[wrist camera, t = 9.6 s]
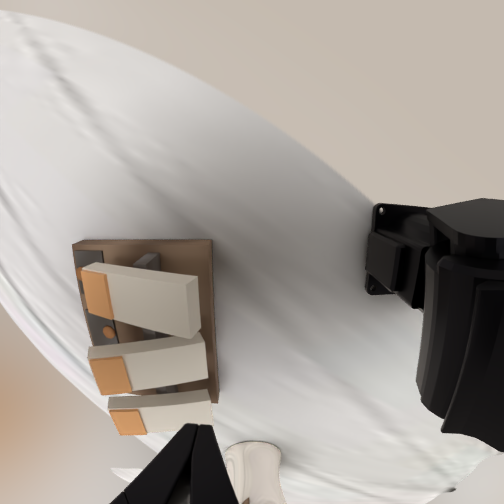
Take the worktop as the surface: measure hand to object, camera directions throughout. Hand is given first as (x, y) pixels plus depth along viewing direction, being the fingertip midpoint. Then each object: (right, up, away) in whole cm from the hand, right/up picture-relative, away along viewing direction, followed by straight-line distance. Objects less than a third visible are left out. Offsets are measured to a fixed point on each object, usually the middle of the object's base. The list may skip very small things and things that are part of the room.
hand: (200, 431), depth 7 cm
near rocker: (-4, +3, +6) cm, 8 cm away
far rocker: (-5, -5, +9) cm, 11 cm away
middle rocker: (-5, -1, +7) cm, 9 cm away
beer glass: (+2, -16, +17) cm, 24 cm away
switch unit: (-6, 0, +12) cm, 14 cm away
